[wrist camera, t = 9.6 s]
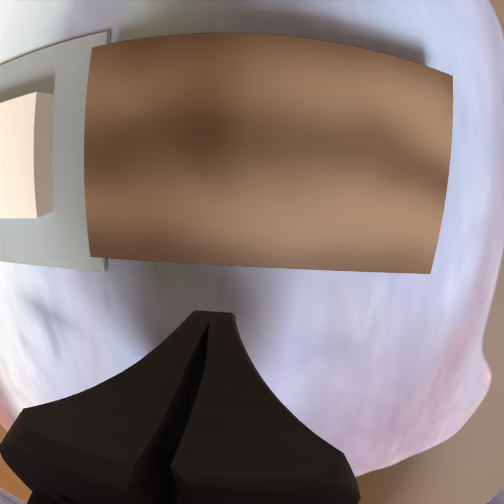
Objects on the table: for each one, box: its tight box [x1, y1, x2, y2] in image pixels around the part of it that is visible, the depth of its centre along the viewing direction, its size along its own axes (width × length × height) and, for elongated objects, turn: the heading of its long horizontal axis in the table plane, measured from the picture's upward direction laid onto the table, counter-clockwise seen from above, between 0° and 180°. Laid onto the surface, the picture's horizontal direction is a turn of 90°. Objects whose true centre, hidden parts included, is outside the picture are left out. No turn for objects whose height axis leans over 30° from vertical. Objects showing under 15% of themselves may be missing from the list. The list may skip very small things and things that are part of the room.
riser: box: [84, 33, 453, 274], centre depth 15 cm, size 12×20×3 cm, turn 87°
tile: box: [0, 92, 54, 218], centre depth 15 cm, size 8×6×2 cm
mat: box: [0, 31, 111, 272], centre depth 16 cm, size 16×11×1 cm
